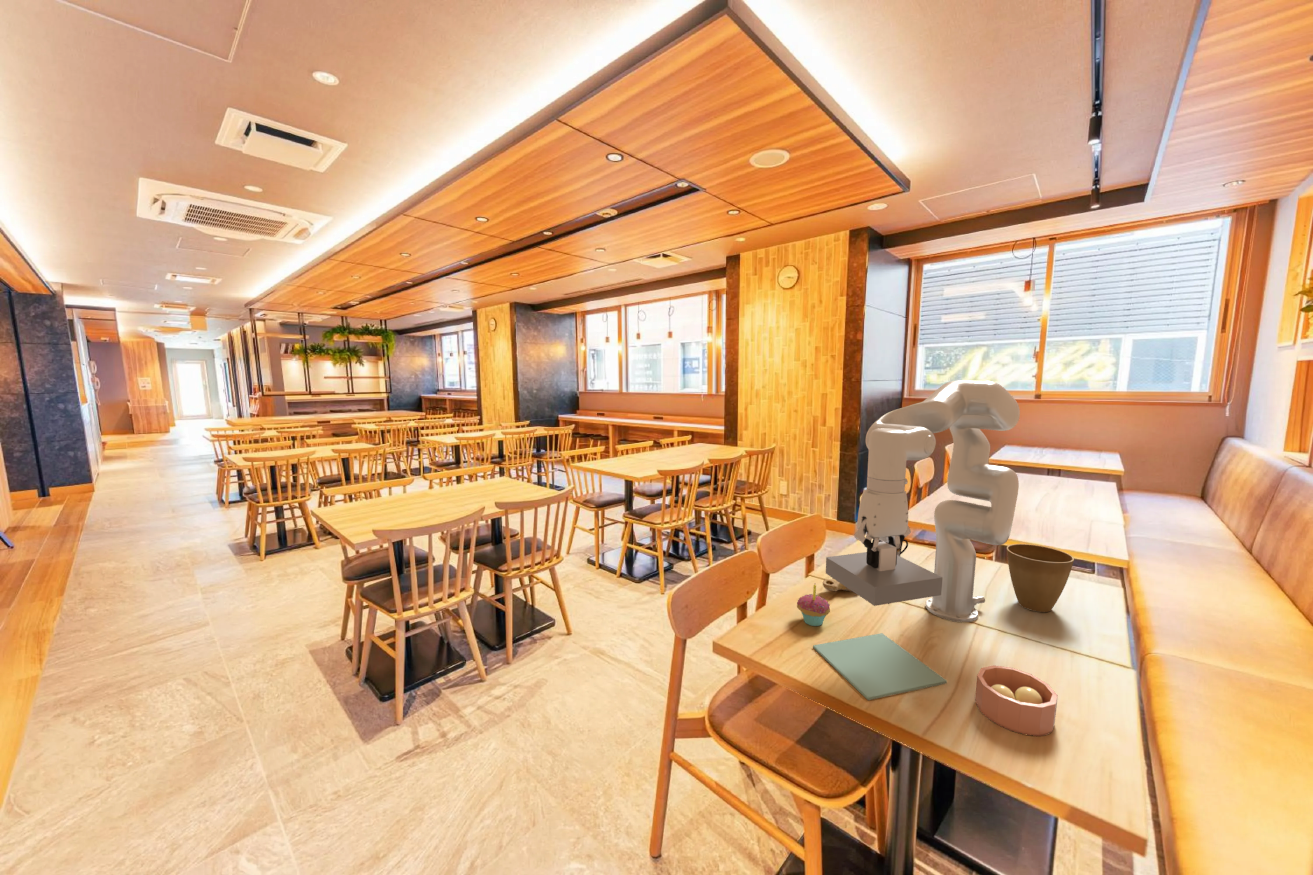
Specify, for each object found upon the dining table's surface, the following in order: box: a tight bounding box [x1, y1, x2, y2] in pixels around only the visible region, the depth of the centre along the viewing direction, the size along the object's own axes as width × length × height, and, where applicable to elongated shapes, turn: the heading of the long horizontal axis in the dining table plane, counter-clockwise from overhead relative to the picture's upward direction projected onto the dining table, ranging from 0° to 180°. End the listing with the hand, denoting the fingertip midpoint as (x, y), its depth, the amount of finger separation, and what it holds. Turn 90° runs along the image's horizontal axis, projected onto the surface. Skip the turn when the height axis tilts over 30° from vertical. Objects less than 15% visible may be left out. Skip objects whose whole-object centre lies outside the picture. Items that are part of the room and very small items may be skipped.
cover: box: [825, 541, 943, 607], centre depth 109 cm, size 17×17×9 cm
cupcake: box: [796, 584, 831, 627], centre depth 131 cm, size 9×8×12 cm
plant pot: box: [1006, 543, 1075, 613], centre depth 138 cm, size 15×15×16 cm
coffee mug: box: [879, 537, 909, 557], centre depth 167 cm, size 12×9×10 cm
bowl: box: [974, 664, 1059, 737], centre depth 96 cm, size 12×12×6 cm
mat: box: [812, 632, 948, 701], centre depth 113 cm, size 20×20×1 cm
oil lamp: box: [822, 577, 852, 592], centre depth 150 cm, size 11×14×5 cm
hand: (881, 564), depth 109 cm, fingers closed on cover, 4 cm apart
